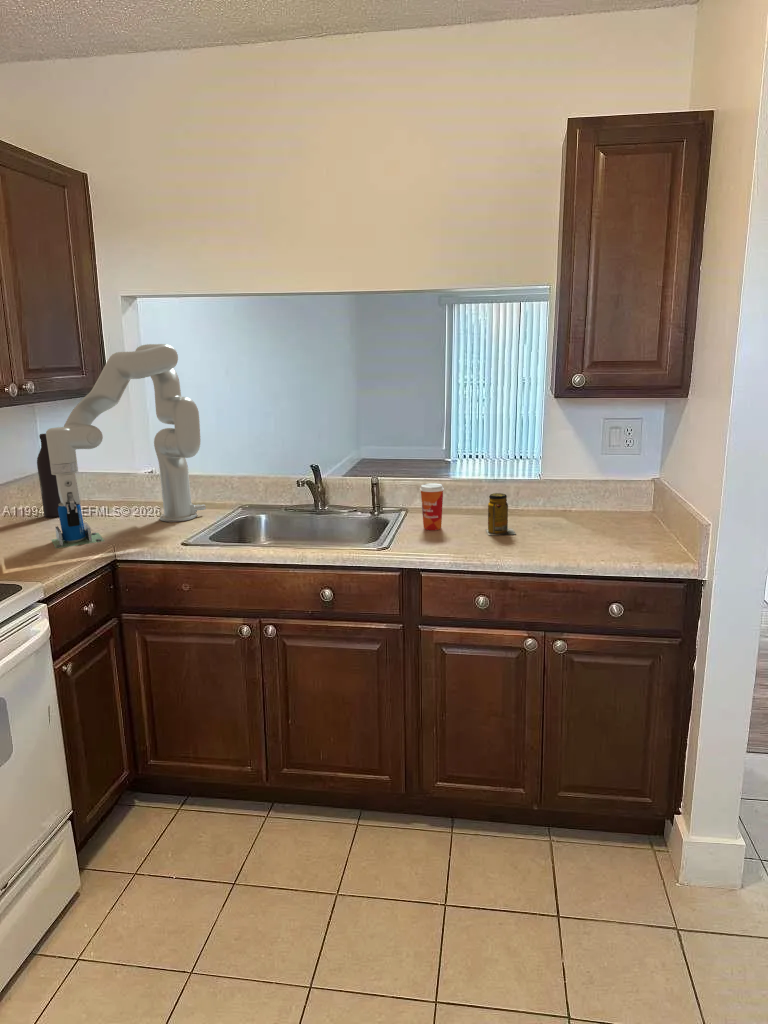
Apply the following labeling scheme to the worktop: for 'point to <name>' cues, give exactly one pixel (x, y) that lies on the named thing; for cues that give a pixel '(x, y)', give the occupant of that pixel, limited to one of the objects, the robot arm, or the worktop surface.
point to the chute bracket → (60, 536)
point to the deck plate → (95, 538)
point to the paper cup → (432, 505)
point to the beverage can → (72, 532)
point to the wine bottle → (47, 481)
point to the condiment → (498, 515)
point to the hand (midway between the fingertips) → (71, 522)
